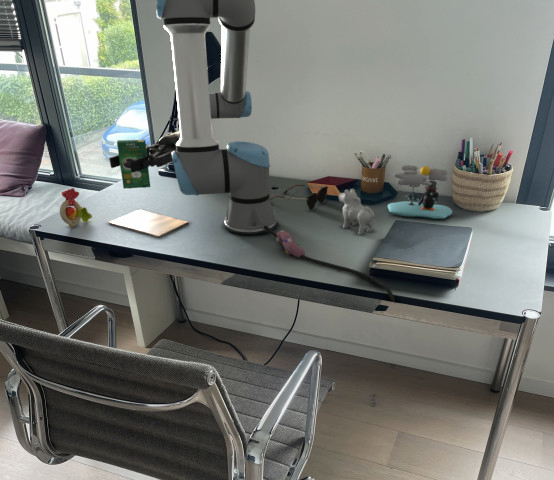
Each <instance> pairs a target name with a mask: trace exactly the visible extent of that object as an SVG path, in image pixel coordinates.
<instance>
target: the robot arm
mask: <svg viewBox="0 0 554 480" xmlns="http://www.w3.org/2000/svg"><path fill="white" fill-rule="evenodd" d="M156 18H157V19H159V20H162V24H163V25H162V26H163V28H164V30H166V31H167V32H168V33H169V35H170V42H171V50H172V52H171V53H172V62H173V72H174V82H175V92H176V102H177V112H178V122H179V124H178V125H179V131H176V132H173V133H170V134H167V135H164V136H162V137H160V139H159V140H158V142H157V143H154V144H152V145H148V143H146V151H147V157H144V158H141V159H138V160H135V161H132V162H130V166H131V172H136V171H139V170H142V169H144V168H147V167H148V168H149V167H151V168H153V167H155V166H156V167H157V168H160V167H163V166H165V165H168V164H169V163H173V167H174V168H173V169H174V172H175V176H176V180H177V185H178V188H179V191H180V192H181V194H182V195H186V196H200V195H216V194H217V195H219V194H229V203H228V206H227V209H226V213H225V216H224V228H225V229H226V230H227V231H228V232H230V233H233V234H236V235H241V236H257V235H263V234H266V233H269V234H271V235H272V236H273V237H274V238H275V239H276V238H277V235H276V233H277V232H275V231H274V230H275V228H276V226H277V218H276V215H275V213H274V210H273V206H272V203H271V200H270V199H271V198H270V167H271V164H270V154H269V151H268V149H266V147H265V146H263V145H260V144H258V143H255V142H250V141H240V140H238V141H237V140H236V141H230V142H228V143H227V145H226V148H221V149H220V145H219V144H220V143H219V141H218V140H217V139H216V138H214V133H213V126H212V120H216V119H242V118H249V117H250V116H251V115H252V111H253V109H252V107H253V106H252V104H253V103H252V94H251V92H250V91H249V90H247V79H248V65H249V51H250V50H249V49H250V39H251V38H250V37H251V28H252V27H253V26H254V24H255V20H256V1H255V0H156ZM212 18H213V19H214V18H215V19H216V18H217V19H218V22H219V24H220V25H221V51H220V52H221V53H220V55H221V57H220V59H221V60H220V62H221V63H220V91H218V92H219V93H215V94H209V92H210V84H209V72H208V71H209V70H208V58H207V46H206V45H207V44H206V33H207V32H208V31H209V29H210V27H211V19H212ZM108 159H109V165H110V168H111V169H115V168H117V167H120V160H119V154H117V155H114V156H111V157H109V158H108ZM299 259H302V260H305V261H308V262H310V263H312V264H317V265H321V266H324V267H328V268H331V269H335V270H338V271H343V272H347V273H350V274H353V275H356V276H359V277H361V278H365V279H366V280H369V281H370V282H372V283H375V284H376V285H378V286H379V287H381V288H382V289H384V290H385V291H386V293H387V294H388V297H389V300H390V301H391V302H396V299H395V296H394V294H393V292H392V290H391V288H390V287H389V286H388V285H387V284H385V283H383V282H381V281H380V280H378V279H377V278H376V277H373V276H372V275H369V274H367V273H365V272H361V271H359V270H356V269H353V268H349V267H346V266H342V265H338V264H334V263H330V262H327V261H323V260H319V259H317V258H316V259H315V258H312V257H310V256H307V255H305V256H304V255H301V256H300V258H299Z"/></svg>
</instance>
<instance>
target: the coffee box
mask: <svg viewBox="0 0 554 480" xmlns="http://www.w3.org/2000/svg"><path fill="white" fill-rule="evenodd" d="M116 144H117V152H118V155H119V160H120V166H119V167H120V173H121V174H120V175H121V180H122V187H123V188H122V189H129V190H130V189H141V188H143V189H146V188H151V178H150V171H149V170H150V169H149V167H147V168H144V169H142V170H139V171H136V172H131V166H130V162H132V161H135V160H138V159H141V158H144V157H147V151H146V144H147V142H146V139H118V140H117V141H116Z"/></svg>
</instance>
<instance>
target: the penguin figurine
mask: <svg viewBox="0 0 554 480" xmlns="http://www.w3.org/2000/svg"><path fill="white" fill-rule="evenodd" d="M401 170H402V171H403V172H394V173H393V177H394V178H397V179H396V183H397V185H400V186H409V188H411V196H408V195H407V194H406V195H405V198H406V199H407V201H405V200H404V201H397V202H391V203H389V204H387V209H388V212H389V213H390V214H392V215H395V216H401V217H408V218H409V217H410V218H415V217H416V218H427V219H432V220H442V219H446V218H447V217H450V216H452V214H453V210H452V208H450V207H449V206H447V205H443V204H436V203H437V198H438V197H439V192H438V191H437V190H438V188H439V185H438V183H437V181H440V182H447V181H448V174H449V172H448V170H446V169H443V168H436V167H435V168H433V167H431V168H430V166H427V165H424V166H422V167H421V168H420V169H419V168H418V166H416V165H410V164H404V165H402V166H401ZM418 170H419V172H418ZM421 185H423V186H424V191H421V194H424V195H422V196H421V198H416V201H414V200H415V196H414V194H418V193H419V189H418V188H420V187H421ZM406 191H407V190H405V189H403V193H405V192H406ZM406 193H407V192H406ZM410 197H411V198H410Z"/></svg>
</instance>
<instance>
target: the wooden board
mask: <svg viewBox="0 0 554 480" xmlns="http://www.w3.org/2000/svg"><path fill="white" fill-rule="evenodd" d="M109 224H110V225H112V226H117V227H120V228H124V229H127V230H131V231H134V232H136V233H137V232H138V233H141V234H144V235H148V236H152V237H155V238H161V237H164V236H165V235H168V234H169V233H172V232H174V231H175V230H178V229H180V228H182V227H184V226H186V225H188V224H189V222H188V221H187V220H182V219H178V218H175V217H171V216H167V215H163V214H159V213H155V212H151V211H147V210H144V209H140V208H139V209H137V210H134V211H132V212H130V213H128V214H126V215H123V216H121V217H118V218H116V219H113V220H111V221H109Z"/></svg>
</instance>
